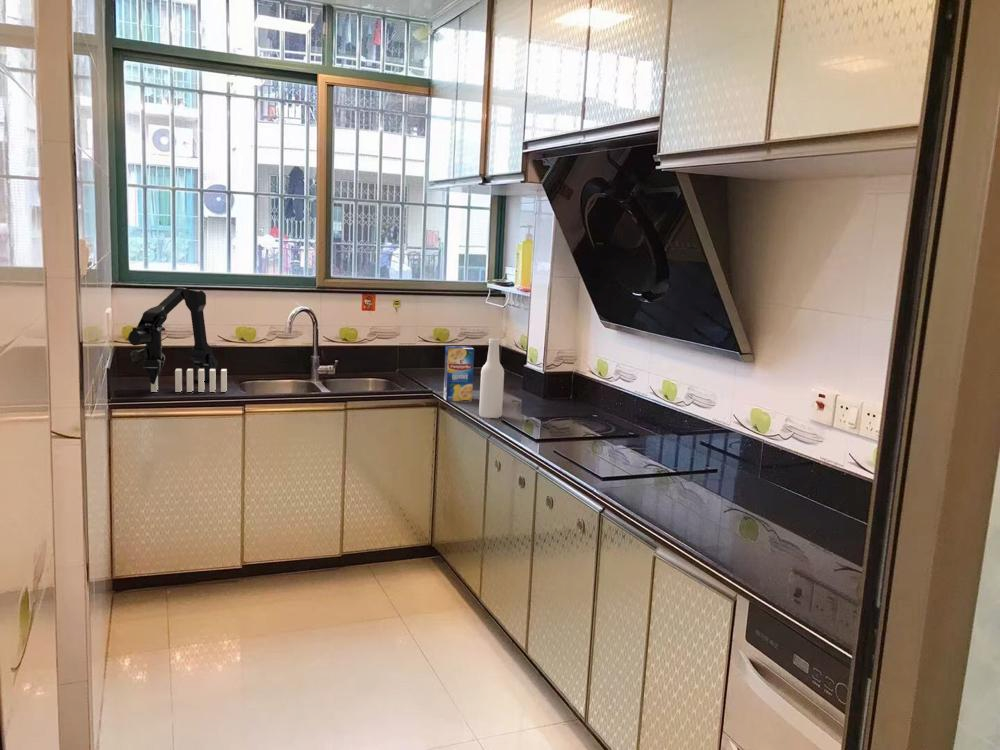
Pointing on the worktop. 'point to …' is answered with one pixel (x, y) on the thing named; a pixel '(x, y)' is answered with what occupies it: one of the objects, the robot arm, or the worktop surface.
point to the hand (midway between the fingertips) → (154, 381)
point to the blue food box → (458, 373)
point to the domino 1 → (154, 386)
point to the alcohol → (491, 383)
